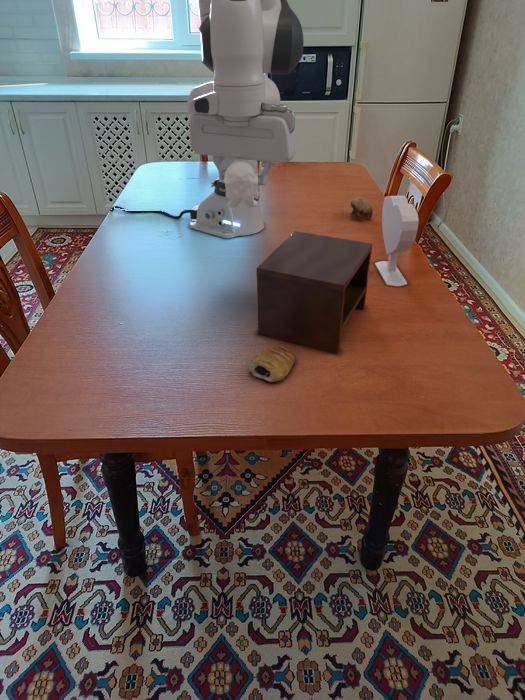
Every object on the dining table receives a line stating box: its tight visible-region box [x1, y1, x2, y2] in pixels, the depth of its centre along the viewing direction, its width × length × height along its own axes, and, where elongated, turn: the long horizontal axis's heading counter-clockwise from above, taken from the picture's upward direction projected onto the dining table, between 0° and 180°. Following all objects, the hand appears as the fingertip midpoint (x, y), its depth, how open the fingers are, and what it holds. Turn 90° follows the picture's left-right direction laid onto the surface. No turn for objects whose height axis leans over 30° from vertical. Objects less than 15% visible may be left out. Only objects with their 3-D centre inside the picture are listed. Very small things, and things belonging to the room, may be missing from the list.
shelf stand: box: [256, 230, 373, 355], centre depth 99 cm, size 17×19×15 cm
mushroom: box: [348, 197, 374, 220], centre depth 149 cm, size 8×8×6 cm
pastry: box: [248, 345, 296, 383], centre depth 90 cm, size 9×7×4 cm
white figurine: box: [224, 160, 259, 208], centre depth 93 cm, size 6×8×12 cm
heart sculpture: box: [374, 195, 420, 287], centre depth 115 cm, size 16×5×18 cm, turn 4°
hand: (243, 182), depth 93 cm, fingers closed on white figurine, 6 cm apart
